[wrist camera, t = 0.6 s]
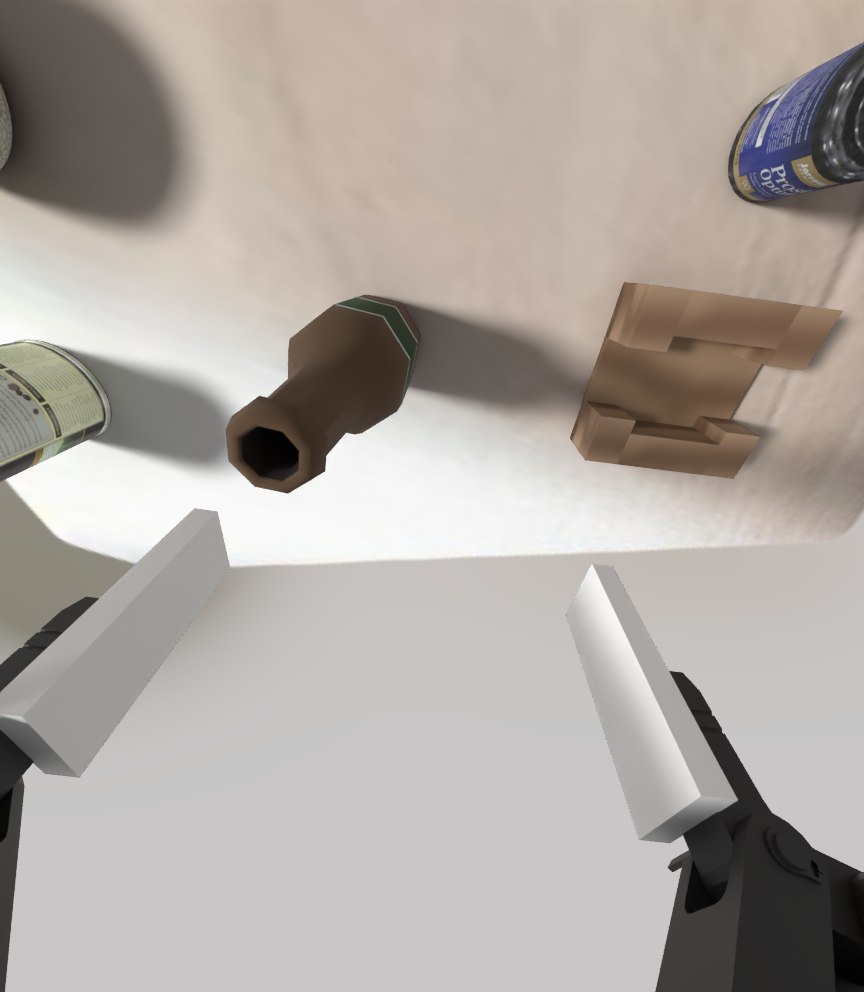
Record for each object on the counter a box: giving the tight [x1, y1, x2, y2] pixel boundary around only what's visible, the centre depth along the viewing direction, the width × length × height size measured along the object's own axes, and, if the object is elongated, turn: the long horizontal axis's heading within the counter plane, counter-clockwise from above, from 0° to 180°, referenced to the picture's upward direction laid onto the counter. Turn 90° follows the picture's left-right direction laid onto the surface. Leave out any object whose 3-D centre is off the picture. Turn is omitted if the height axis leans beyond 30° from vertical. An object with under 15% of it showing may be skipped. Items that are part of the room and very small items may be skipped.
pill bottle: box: [728, 42, 864, 202], centre depth 21 cm, size 6×6×11 cm
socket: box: [570, 282, 843, 479], centre depth 32 cm, size 14×14×5 cm
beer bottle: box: [226, 295, 420, 493], centre depth 23 cm, size 8×8×24 cm
